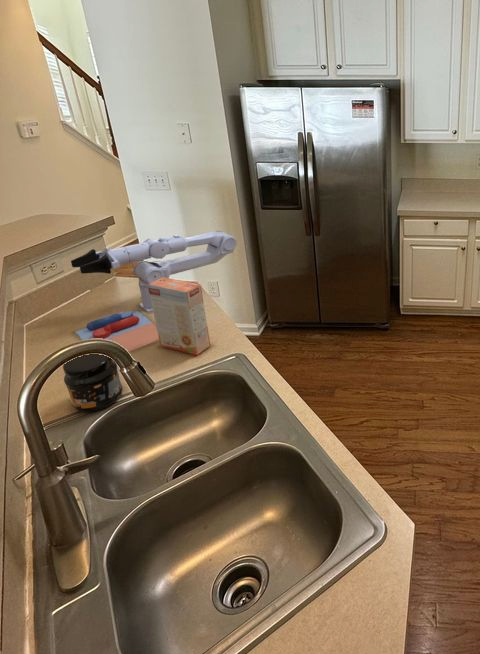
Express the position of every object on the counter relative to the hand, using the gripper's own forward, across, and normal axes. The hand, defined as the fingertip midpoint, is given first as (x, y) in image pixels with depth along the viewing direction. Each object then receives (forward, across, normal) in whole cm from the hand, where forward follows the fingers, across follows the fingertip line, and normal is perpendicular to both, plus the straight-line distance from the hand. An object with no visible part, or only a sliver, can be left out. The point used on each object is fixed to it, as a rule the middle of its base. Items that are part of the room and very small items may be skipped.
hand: (76, 267), depth 130 cm
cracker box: (-14, +32, +22) cm, 41 cm away
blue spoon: (-5, +2, +21) cm, 21 cm away
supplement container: (+11, +39, +22) cm, 46 cm away
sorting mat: (-5, +11, +21) cm, 24 cm away
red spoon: (-5, +8, +21) cm, 23 cm away
